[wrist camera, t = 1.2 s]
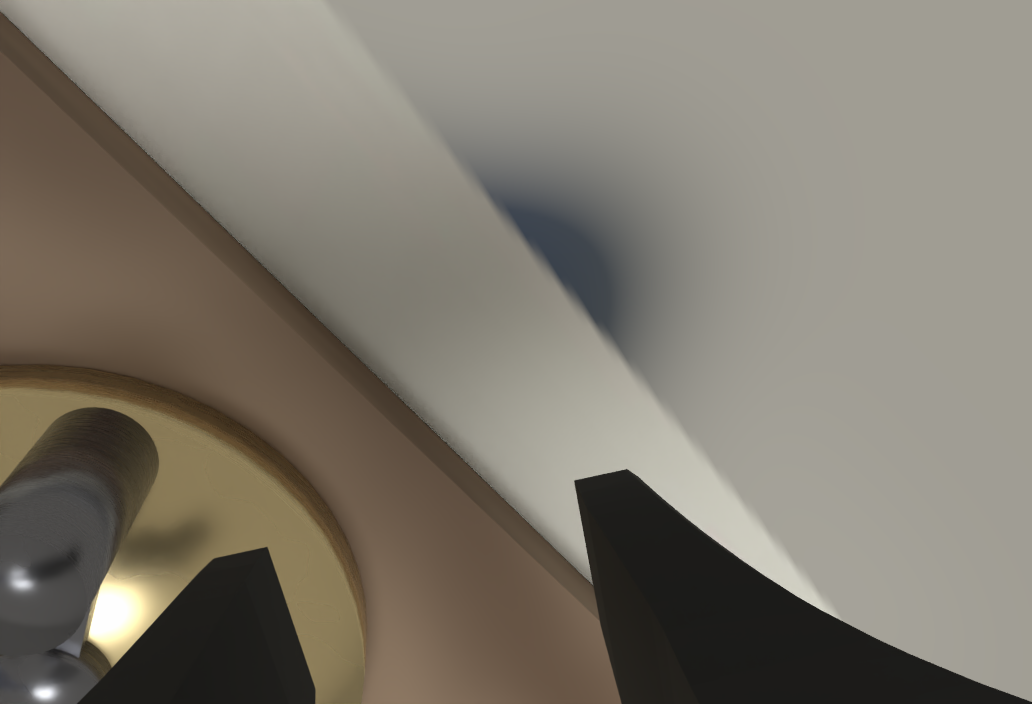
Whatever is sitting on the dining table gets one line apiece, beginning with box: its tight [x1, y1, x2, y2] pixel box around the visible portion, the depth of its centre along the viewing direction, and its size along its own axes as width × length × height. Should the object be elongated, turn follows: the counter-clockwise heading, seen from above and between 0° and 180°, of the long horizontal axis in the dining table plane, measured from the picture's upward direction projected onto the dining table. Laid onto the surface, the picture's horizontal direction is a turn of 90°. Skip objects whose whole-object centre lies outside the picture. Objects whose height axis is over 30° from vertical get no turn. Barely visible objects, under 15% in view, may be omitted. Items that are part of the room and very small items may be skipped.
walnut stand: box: [0, 12, 622, 704], centre depth 19 cm, size 14×20×4 cm
